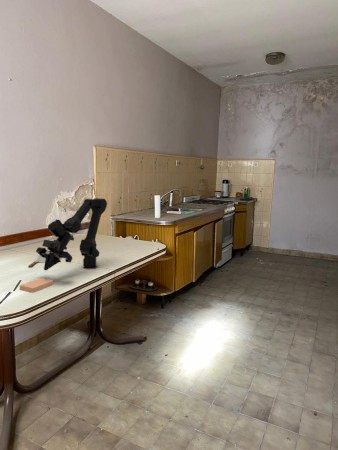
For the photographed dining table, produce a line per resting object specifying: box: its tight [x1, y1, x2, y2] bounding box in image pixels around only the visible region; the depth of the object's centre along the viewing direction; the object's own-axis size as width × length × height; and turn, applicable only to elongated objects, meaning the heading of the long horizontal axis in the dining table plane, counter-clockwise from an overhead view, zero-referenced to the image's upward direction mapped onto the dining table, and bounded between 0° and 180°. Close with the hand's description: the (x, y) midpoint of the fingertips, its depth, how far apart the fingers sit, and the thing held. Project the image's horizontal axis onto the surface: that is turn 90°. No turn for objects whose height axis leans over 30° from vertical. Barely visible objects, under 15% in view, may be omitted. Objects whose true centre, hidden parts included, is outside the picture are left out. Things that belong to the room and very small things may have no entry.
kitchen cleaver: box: [27, 255, 46, 269], centre depth 189 cm, size 24×1×10 cm
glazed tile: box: [19, 277, 55, 294], centre depth 149 cm, size 2×8×12 cm
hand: (44, 269), depth 152 cm, fingers closed
